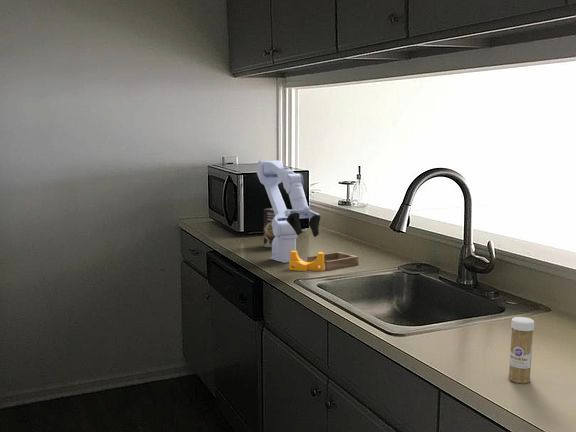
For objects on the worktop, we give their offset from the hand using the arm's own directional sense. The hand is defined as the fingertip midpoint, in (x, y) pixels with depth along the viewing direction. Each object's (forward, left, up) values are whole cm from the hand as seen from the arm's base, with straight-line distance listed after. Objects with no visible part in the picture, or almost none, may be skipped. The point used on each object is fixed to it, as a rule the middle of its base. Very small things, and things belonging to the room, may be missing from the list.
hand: (308, 234), depth 240 cm
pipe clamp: (-3, +2, -14) cm, 15 cm away
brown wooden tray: (-4, +15, -14) cm, 21 cm away
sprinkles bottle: (+104, -27, -14) cm, 108 cm away
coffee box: (-44, +19, -14) cm, 50 cm away
